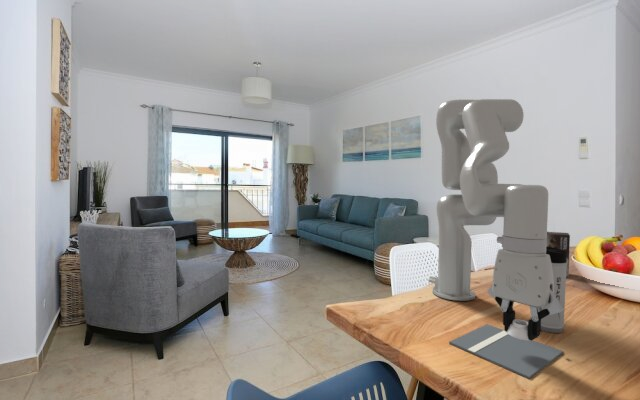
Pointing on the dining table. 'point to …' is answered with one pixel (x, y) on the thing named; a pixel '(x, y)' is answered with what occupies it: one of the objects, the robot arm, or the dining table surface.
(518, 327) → the white bowl
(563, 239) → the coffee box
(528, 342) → the mat
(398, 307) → the dining table surface
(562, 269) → the travel mug
